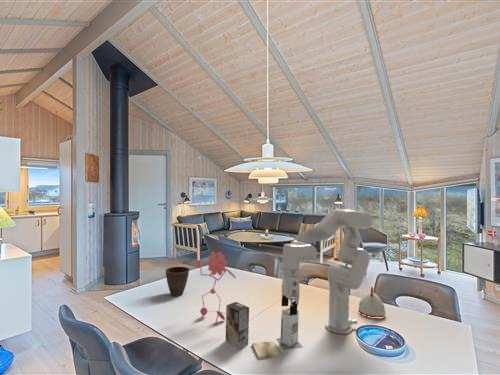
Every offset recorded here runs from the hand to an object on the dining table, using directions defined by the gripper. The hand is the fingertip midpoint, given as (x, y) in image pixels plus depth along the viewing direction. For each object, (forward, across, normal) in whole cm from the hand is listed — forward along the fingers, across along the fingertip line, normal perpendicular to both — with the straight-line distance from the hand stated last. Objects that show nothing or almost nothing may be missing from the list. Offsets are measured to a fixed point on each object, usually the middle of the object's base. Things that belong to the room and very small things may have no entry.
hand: (288, 310), depth 124 cm
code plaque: (+15, 0, -1) cm, 15 cm away
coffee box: (+15, +5, +22) cm, 27 cm away
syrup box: (+15, 0, -1) cm, 15 cm away
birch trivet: (+15, -4, +11) cm, 19 cm away
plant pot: (+16, +71, +48) cm, 87 cm away
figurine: (+15, +32, +28) cm, 45 cm away
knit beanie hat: (+13, +20, -60) cm, 65 cm away
